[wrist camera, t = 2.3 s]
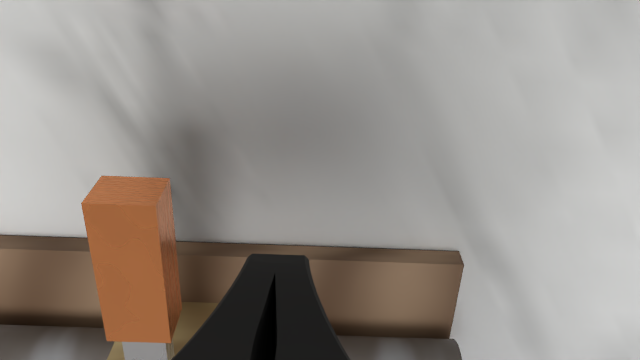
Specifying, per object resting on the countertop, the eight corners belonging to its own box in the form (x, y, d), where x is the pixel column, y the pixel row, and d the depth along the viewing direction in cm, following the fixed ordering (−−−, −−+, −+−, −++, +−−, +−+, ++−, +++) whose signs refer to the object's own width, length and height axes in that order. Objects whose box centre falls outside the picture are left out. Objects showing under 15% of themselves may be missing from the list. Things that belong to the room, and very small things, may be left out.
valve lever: (203, 458, 23) (195, 496, 21) (138, 456, 23) (126, 495, 21) (179, 178, 17) (166, 206, 15) (91, 175, 17) (70, 202, 15)
